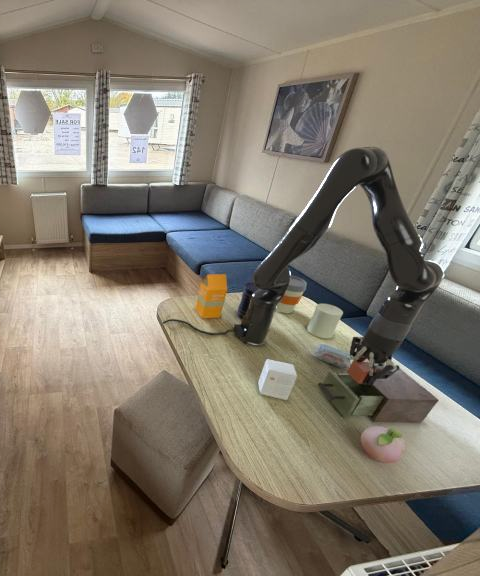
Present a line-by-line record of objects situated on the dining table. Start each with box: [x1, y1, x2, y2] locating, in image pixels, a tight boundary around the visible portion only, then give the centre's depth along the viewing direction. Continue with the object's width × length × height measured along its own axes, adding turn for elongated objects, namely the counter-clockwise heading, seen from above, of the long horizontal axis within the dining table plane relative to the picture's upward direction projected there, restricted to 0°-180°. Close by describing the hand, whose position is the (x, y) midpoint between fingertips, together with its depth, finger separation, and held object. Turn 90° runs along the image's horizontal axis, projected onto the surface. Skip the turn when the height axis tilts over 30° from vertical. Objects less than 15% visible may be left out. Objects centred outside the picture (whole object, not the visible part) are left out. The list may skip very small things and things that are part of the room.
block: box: [346, 360, 376, 384], centre depth 91 cm, size 4×4×4 cm
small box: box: [257, 358, 298, 401], centre depth 99 cm, size 8×6×10 cm
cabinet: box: [366, 368, 440, 424], centre depth 95 cm, size 15×13×10 cm
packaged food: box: [312, 343, 353, 371], centre depth 114 cm, size 9×12×5 cm
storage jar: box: [236, 282, 259, 320], centre depth 137 cm, size 10×10×15 cm
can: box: [306, 303, 344, 339], centre depth 129 cm, size 9×9×12 cm
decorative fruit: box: [360, 425, 407, 464], centre depth 80 cm, size 9×8×10 cm
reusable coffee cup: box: [275, 275, 308, 314], centre depth 145 cm, size 13×13×15 cm
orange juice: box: [195, 273, 228, 319], centre depth 138 cm, size 8×9×20 cm
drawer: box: [316, 370, 385, 419], centre depth 95 cm, size 18×11×8 cm, turn 90°
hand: (360, 377), depth 91 cm, fingers closed on block, 4 cm apart
